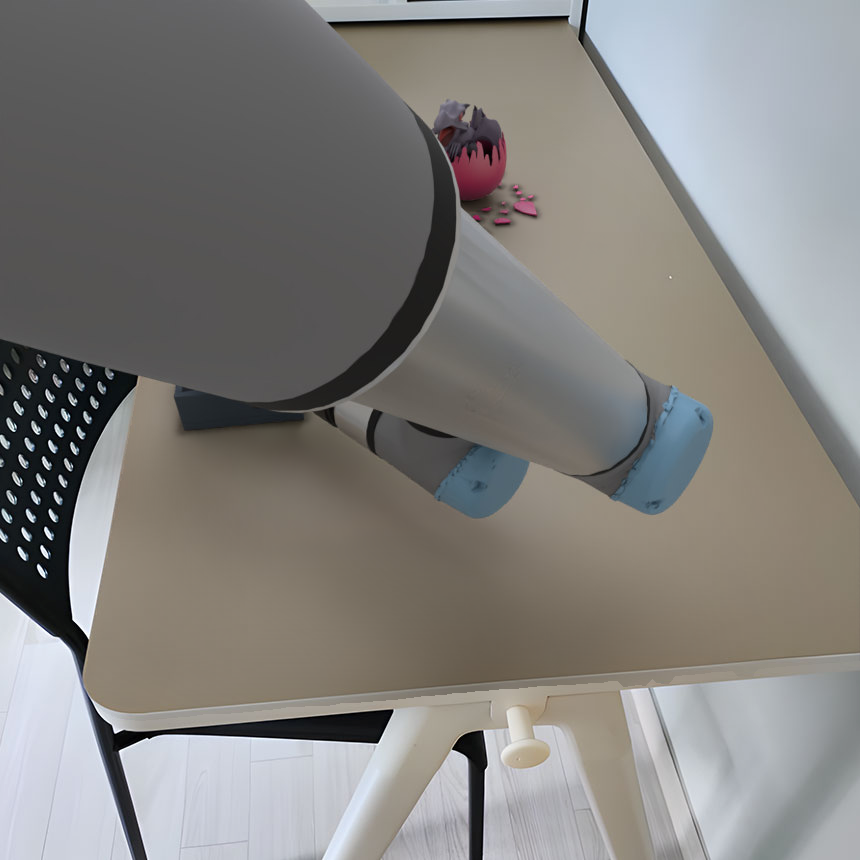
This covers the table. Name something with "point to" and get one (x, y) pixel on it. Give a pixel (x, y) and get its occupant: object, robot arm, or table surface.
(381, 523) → the table surface
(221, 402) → the open box
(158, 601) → the table surface
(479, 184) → the hatching egg
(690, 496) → the table surface
